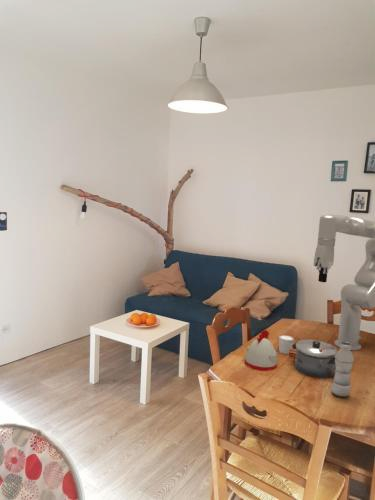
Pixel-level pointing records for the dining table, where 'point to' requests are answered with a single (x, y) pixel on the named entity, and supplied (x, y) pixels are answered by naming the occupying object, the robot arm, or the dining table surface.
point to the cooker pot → (314, 364)
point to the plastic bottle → (342, 370)
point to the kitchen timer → (261, 354)
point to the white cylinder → (285, 344)
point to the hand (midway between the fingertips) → (322, 281)
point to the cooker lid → (316, 348)
